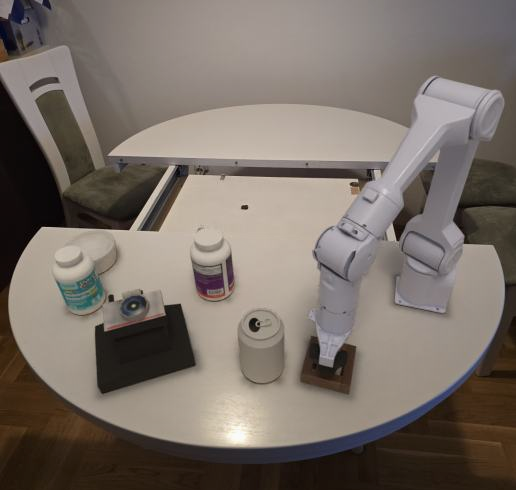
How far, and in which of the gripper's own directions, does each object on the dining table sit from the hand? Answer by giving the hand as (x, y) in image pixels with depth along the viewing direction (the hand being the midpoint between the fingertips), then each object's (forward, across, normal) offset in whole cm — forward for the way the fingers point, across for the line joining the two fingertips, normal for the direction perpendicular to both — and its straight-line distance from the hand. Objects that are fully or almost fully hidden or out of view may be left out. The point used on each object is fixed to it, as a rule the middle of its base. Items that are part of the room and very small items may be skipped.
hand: (330, 355), depth 67 cm
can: (+4, +3, -11) cm, 12 cm away
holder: (+4, 0, 0) cm, 4 cm away
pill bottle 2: (+4, -12, -26) cm, 29 cm away
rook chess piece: (+4, 0, 0) cm, 4 cm away
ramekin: (+4, -12, -56) cm, 57 cm away
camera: (+4, +5, -33) cm, 34 cm away
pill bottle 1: (+4, -1, -50) cm, 50 cm away
